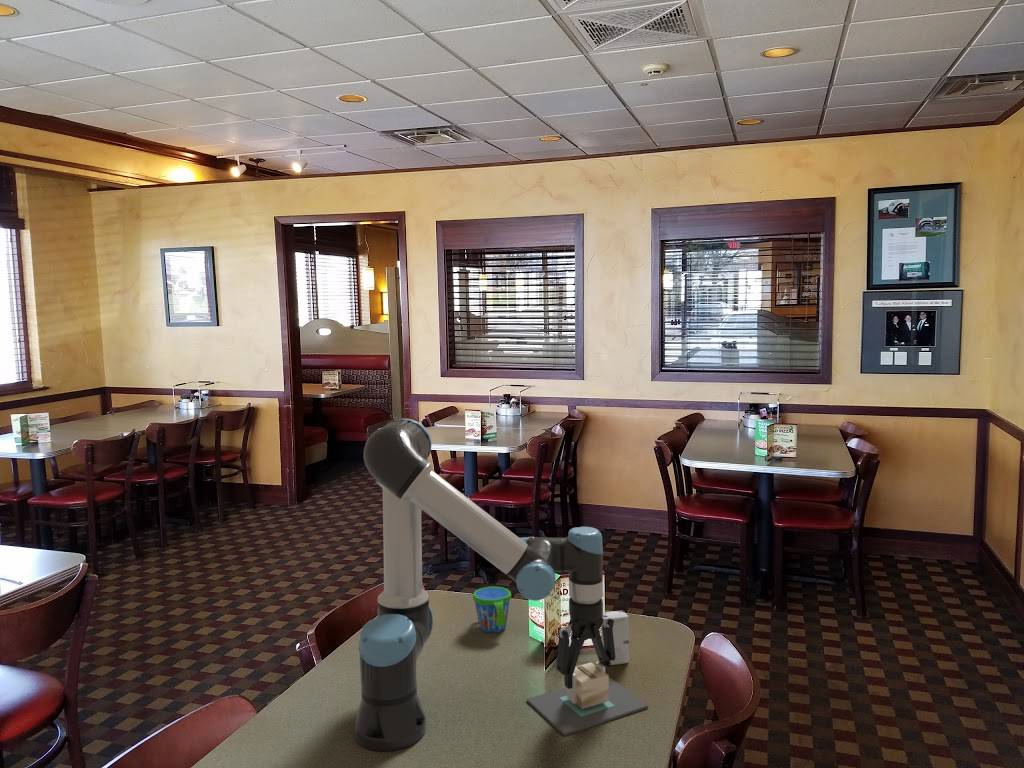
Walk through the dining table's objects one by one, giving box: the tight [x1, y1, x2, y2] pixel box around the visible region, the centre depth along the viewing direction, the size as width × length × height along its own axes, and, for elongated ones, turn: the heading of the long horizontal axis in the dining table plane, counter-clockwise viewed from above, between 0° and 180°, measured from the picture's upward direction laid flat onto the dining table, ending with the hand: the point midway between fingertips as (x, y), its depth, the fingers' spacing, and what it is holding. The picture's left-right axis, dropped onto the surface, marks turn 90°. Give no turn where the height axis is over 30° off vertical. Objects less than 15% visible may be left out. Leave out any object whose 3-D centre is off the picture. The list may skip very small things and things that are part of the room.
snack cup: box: [472, 586, 512, 633], centre depth 209 cm, size 16×10×10 cm
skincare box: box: [600, 610, 630, 666], centre depth 189 cm, size 6×4×12 cm
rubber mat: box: [526, 676, 649, 737], centre depth 169 cm, size 22×16×1 cm
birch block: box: [564, 662, 610, 709], centre depth 168 cm, size 7×7×6 cm
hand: (586, 695), depth 168 cm, fingers closed on birch block, 7 cm apart
